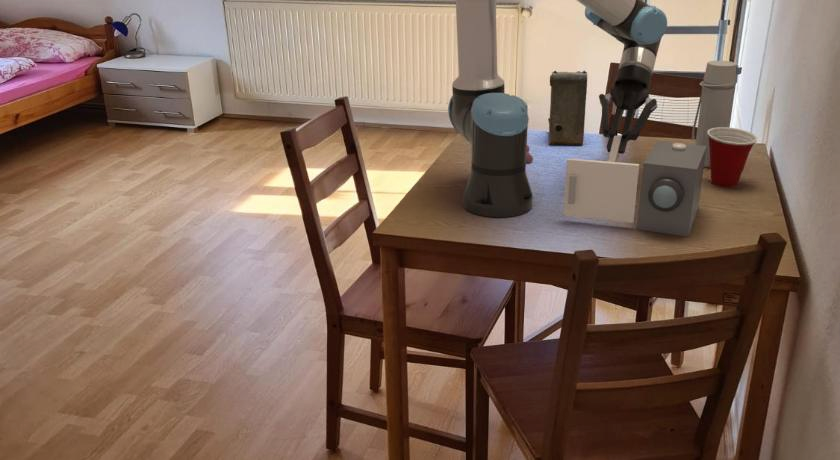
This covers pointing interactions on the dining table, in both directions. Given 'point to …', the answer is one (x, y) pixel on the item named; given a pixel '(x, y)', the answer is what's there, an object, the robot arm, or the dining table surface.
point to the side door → (600, 189)
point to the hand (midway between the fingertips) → (611, 165)
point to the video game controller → (528, 156)
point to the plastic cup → (728, 154)
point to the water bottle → (714, 101)
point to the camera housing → (670, 188)
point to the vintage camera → (567, 108)
